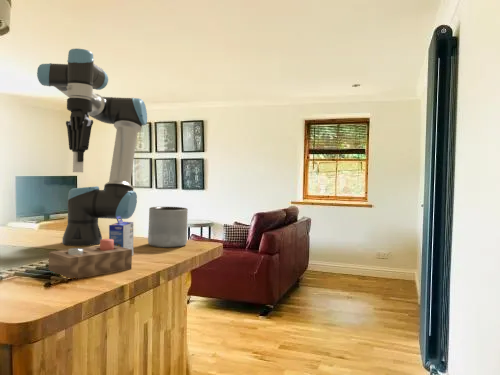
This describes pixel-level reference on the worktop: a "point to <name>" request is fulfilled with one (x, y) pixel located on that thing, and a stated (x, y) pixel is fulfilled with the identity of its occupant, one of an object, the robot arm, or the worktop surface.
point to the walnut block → (90, 261)
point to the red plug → (106, 244)
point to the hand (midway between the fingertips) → (78, 172)
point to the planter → (167, 226)
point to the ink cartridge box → (122, 234)
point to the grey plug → (75, 251)
